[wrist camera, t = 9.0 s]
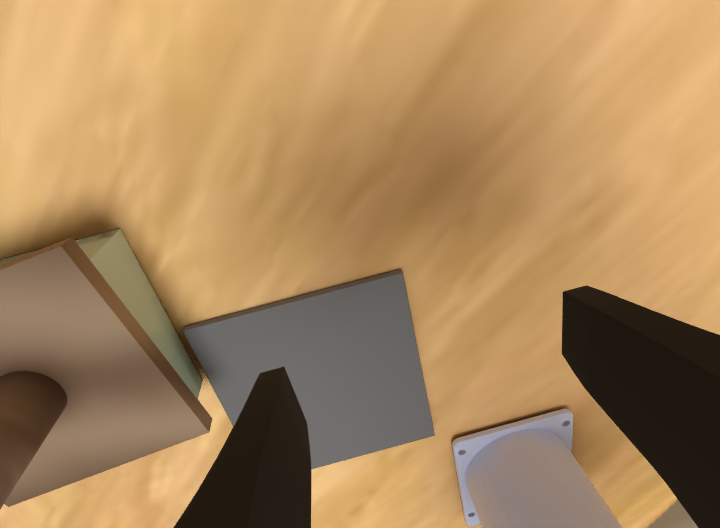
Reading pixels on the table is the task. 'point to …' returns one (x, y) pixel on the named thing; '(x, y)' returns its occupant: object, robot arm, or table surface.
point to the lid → (79, 378)
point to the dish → (137, 298)
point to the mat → (327, 364)
